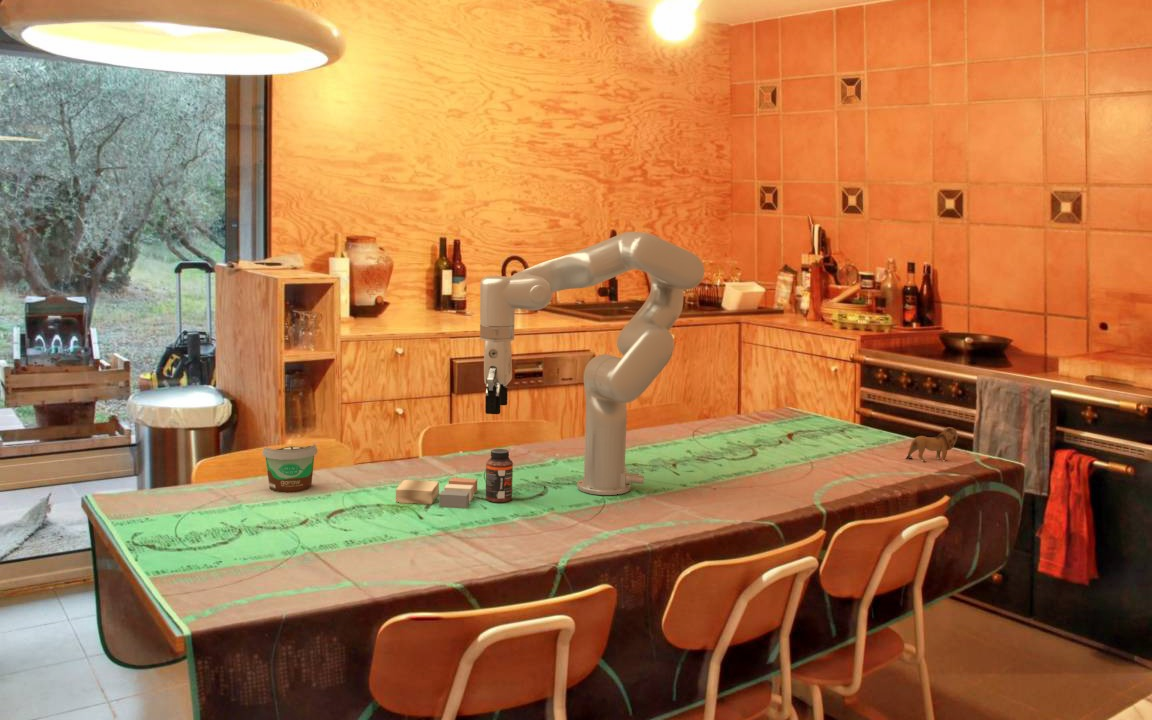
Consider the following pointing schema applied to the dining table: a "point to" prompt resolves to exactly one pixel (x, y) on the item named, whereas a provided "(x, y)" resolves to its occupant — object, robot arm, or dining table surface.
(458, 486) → the brick cream
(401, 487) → the oak slab
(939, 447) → the lion figurine
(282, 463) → the food container
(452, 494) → the brick slate
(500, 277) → the robot arm
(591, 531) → the dining table surface
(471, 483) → the brick terracotta
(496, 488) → the supplement bottle
